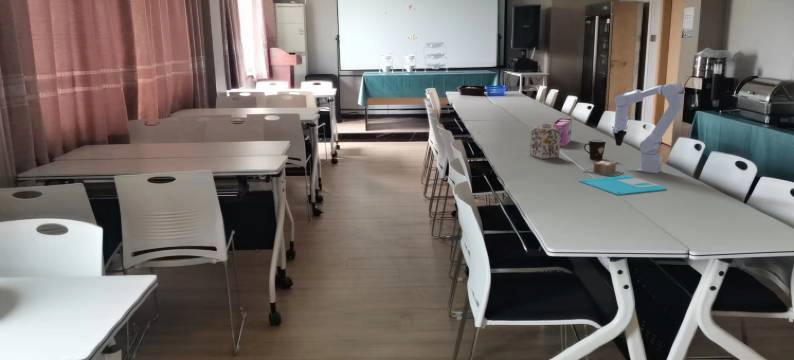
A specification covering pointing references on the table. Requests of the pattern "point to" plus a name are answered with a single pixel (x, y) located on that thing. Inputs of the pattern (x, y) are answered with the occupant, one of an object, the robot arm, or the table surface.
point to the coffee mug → (596, 148)
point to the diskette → (623, 185)
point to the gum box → (564, 130)
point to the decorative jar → (545, 142)
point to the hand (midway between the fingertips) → (618, 145)
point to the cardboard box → (604, 167)
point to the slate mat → (614, 173)
